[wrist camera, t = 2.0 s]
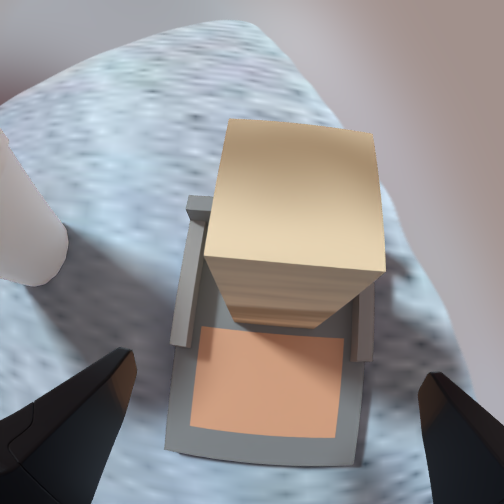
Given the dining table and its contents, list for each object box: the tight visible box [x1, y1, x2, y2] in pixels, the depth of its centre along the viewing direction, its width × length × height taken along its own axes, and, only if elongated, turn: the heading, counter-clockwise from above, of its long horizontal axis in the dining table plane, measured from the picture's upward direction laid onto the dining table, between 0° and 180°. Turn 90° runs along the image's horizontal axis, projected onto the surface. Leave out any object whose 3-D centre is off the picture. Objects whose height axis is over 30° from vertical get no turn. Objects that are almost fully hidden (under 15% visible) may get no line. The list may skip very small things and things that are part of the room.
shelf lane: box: [164, 195, 375, 466], centre depth 18 cm, size 16×12×4 cm
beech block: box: [204, 119, 386, 329], centre depth 15 cm, size 5×5×12 cm
